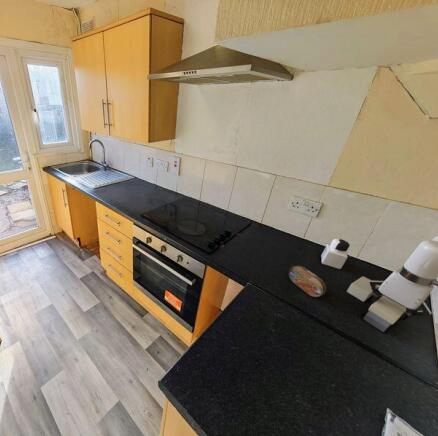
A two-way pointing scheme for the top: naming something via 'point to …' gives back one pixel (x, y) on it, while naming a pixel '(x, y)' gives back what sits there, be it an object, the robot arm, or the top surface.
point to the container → (335, 253)
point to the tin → (307, 281)
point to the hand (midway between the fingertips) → (386, 311)
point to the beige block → (361, 289)
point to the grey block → (377, 321)
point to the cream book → (387, 309)
